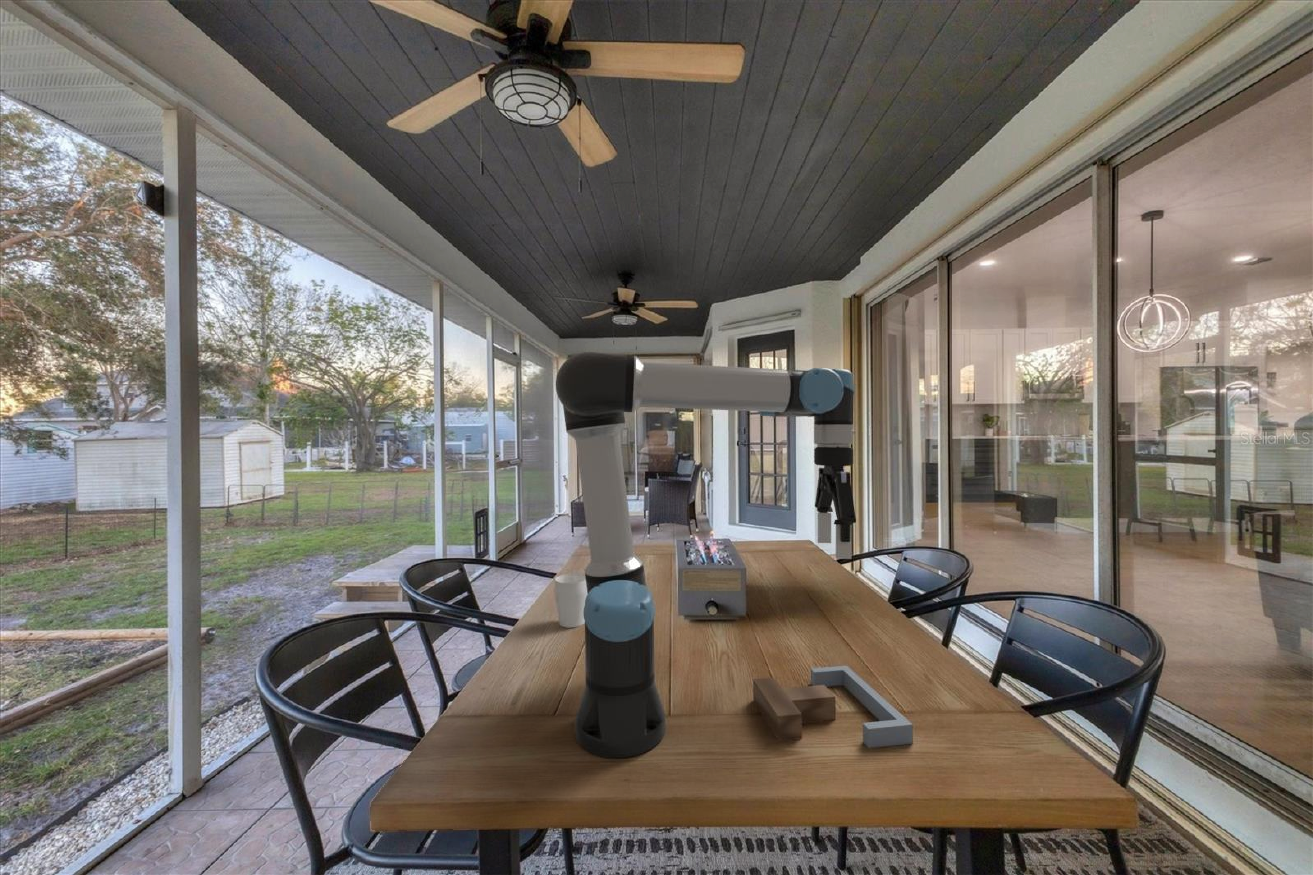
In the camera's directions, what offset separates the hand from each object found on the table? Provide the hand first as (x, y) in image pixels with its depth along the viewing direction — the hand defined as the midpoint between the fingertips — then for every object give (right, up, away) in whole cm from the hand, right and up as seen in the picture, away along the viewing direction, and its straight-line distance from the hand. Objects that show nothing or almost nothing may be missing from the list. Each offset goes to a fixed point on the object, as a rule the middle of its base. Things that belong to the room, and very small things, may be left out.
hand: (833, 550), depth 98 cm
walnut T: (-11, -26, -14) cm, 31 cm away
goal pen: (0, -26, -12) cm, 29 cm away
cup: (-58, -26, +30) cm, 71 cm away
